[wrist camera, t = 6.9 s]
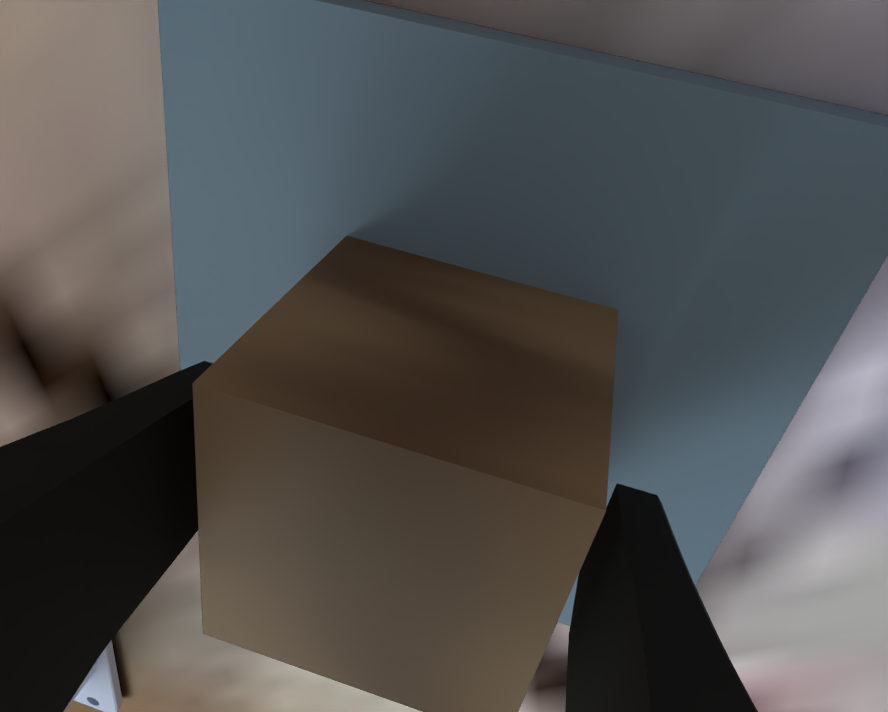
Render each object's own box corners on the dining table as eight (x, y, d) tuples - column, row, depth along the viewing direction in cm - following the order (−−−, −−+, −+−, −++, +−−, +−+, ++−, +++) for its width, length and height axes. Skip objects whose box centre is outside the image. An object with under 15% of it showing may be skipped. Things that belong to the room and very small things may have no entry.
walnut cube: (325, 443, 15) (202, 633, 11) (346, 235, 12) (191, 383, 8) (544, 511, 14) (504, 741, 10) (618, 309, 12) (605, 510, 7)
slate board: (213, 471, 18) (188, 502, 17) (197, -36, 12) (155, -36, 10) (654, 611, 17) (655, 653, 16) (922, 123, 10) (953, 142, 9)
